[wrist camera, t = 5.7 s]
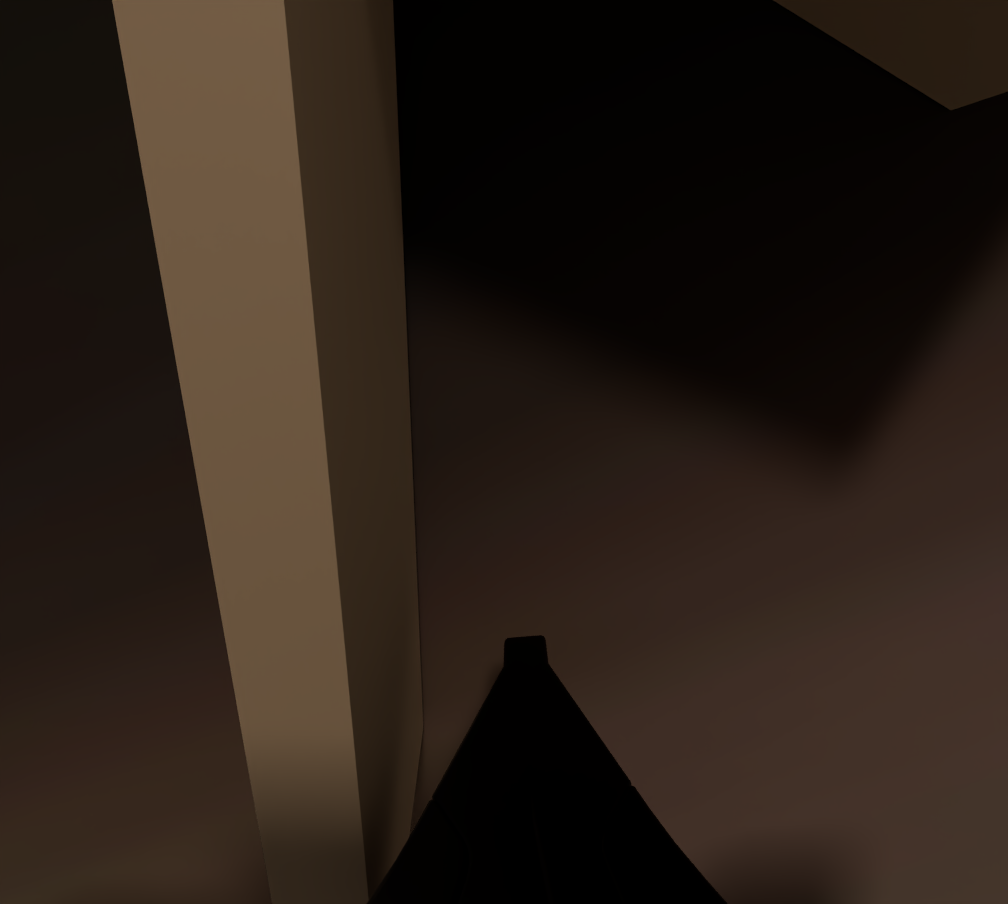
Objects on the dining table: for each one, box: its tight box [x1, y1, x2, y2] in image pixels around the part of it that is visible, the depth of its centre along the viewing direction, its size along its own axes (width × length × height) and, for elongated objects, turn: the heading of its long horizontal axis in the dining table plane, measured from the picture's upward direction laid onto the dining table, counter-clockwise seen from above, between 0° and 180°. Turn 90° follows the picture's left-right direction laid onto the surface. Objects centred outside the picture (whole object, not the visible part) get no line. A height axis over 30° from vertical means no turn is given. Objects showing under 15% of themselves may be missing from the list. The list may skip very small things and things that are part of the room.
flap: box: [112, 0, 423, 904], centre depth 6 cm, size 15×1×5 cm, turn 179°
